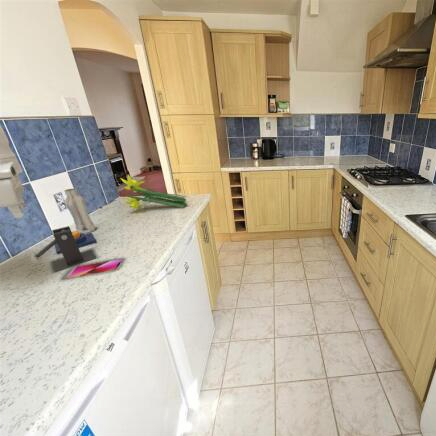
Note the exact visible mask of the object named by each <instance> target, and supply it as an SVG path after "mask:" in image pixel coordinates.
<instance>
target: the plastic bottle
mask: <svg viewBox="0 0 436 436" xmlns="http://www.w3.org/2000/svg"><path fill="white" fill-rule="evenodd" d="M64 194H65V196H66V197H65V199H64V200H65V201H64V205H65V206H66V208H67V210H68V211H69V214H70V215H71V217H72V219H73V222H74V227H75V231H79V233H84V234H88V233H92V232H94V231H95V230H96V226H95V224H94V222H93V221H92V219H91V216H90V215H89V212H88V209H87V206H86V201H85V199H84V198H83V197H82V196H81V195H79V194H78V191H77V189H76V188H68V189H64Z"/></svg>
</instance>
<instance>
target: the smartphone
mask: <svg viewBox="0 0 436 436" xmlns="http://www.w3.org/2000/svg"><path fill="white" fill-rule="evenodd" d="M123 262H124V259H123V258H117V259H111V260H106V261H100V262H94V263H90V264H83V265H76V267H75V268H74V269H72V270H73V271H72V272H71V273H70V274H69V275H68V276H67V277H66V280H67V279H76V278H80V277H87V276H92V275H97V274H104V273H110V272H114V271H117V270H118V269H119V268H120V267H121V265H122V264H123Z"/></svg>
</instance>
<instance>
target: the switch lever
mask: <svg viewBox="0 0 436 436" xmlns="http://www.w3.org/2000/svg"><path fill="white" fill-rule="evenodd" d="M62 231H66V230H64V229H63V230H61V231H60V232H62ZM56 243H57V242H56V240H55V239H53V240H52V241H51V242H50V243H48V244H47V245H46V246H45V247H44V248H43V249H41V250H40V251H38V252H37V253H32V254H31V263H32V264H38V263H39V258H41V257H42V256H43V255H45V253H47V252H48V251H49V250H50V249H52V248H53V247H55V244H56Z"/></svg>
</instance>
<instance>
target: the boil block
mask: <svg viewBox="0 0 436 436" xmlns="http://www.w3.org/2000/svg"><path fill="white" fill-rule="evenodd" d="M80 236H81V237H79V238H77V239H75V241H76V243H77V246H78V248H79V249H81V248H83V247H88V246H90V245H93V244H94V245H95V244H97V242H98V241H97V239H96V238H95V236H94V234H93V233H92V232H89V233H80ZM54 249H55V252H56V255H60V254H62V252H61V250H60V248H59V246H58V244H57V243H56V244H55V245H54Z"/></svg>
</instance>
